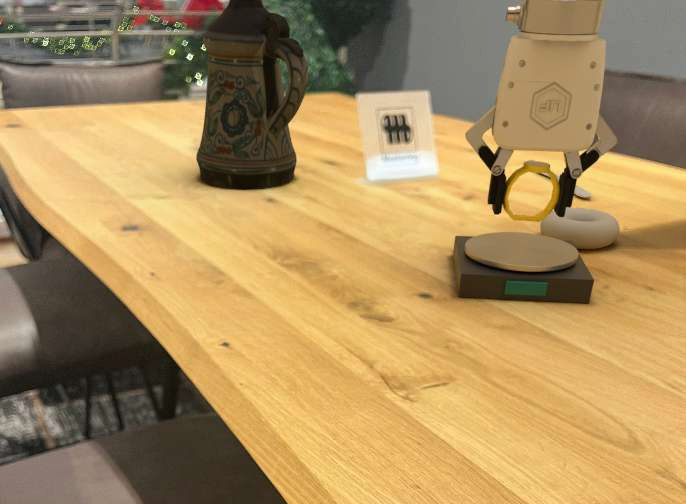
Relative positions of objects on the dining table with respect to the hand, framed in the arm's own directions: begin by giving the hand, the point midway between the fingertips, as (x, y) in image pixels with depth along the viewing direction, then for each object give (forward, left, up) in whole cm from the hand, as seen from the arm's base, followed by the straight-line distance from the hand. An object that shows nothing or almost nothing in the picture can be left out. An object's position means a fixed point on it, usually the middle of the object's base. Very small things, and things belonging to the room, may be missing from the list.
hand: (527, 211), depth 84 cm
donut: (-10, -16, -8) cm, 20 cm away
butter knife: (-12, -51, -8) cm, 53 cm away
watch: (0, 0, -1) cm, 1 cm away
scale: (0, 0, -8) cm, 8 cm away
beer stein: (+38, -44, -8) cm, 59 cm away
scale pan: (0, 0, -5) cm, 5 cm away
